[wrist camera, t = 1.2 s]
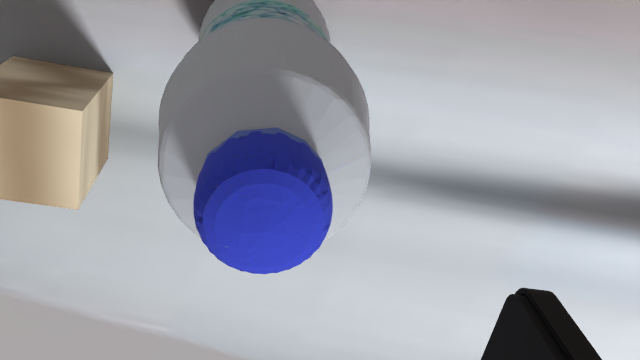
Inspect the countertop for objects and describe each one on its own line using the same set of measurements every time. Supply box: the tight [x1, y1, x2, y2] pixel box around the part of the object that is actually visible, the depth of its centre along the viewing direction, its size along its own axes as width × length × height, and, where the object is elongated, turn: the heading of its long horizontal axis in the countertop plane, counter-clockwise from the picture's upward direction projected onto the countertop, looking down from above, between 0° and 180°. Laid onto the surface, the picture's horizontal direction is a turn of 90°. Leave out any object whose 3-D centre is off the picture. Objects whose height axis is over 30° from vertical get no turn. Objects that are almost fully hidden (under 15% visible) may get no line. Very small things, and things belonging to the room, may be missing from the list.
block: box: [0, 56, 113, 210], centre depth 30 cm, size 5×5×6 cm
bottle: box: [158, 0, 371, 274], centre depth 22 cm, size 7×7×20 cm
